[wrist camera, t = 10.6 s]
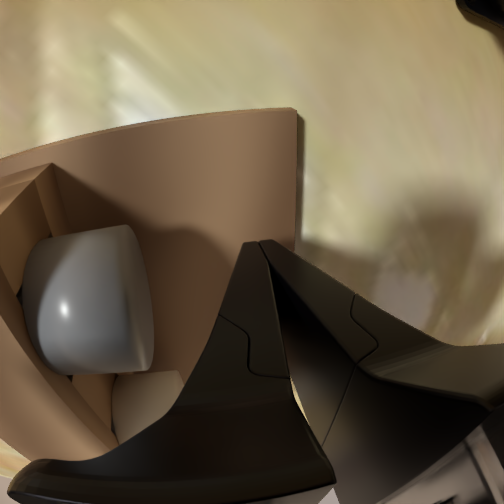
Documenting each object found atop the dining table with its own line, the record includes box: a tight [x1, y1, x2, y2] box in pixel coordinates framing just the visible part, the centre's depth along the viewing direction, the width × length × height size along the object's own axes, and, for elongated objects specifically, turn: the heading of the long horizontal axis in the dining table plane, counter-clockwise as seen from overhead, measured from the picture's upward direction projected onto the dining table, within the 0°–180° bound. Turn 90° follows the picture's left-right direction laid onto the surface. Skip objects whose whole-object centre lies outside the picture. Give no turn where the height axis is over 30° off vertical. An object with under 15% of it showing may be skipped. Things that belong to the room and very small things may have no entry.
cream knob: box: [111, 370, 184, 445], centre depth 11 cm, size 9×4×4 cm, turn 92°
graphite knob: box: [16, 225, 154, 375], centre depth 7 cm, size 9×4×4 cm, turn 92°
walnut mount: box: [0, 108, 297, 462], centre depth 10 cm, size 13×14×6 cm
